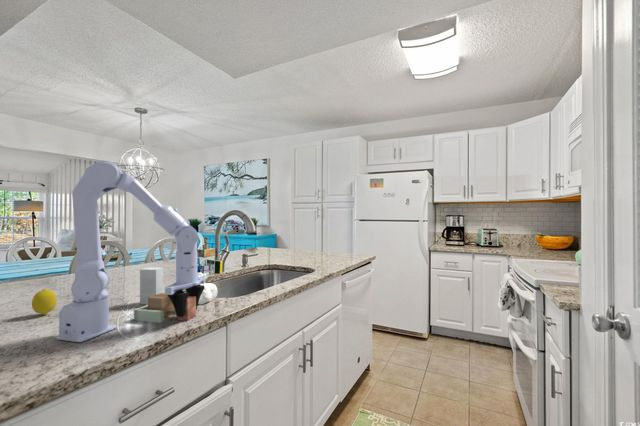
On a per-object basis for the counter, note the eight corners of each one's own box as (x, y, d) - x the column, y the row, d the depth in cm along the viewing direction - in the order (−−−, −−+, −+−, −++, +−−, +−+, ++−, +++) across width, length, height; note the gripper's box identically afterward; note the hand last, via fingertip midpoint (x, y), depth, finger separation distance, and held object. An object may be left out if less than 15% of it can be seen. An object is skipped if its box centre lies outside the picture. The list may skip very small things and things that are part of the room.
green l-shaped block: (160, 322, 81) (160, 312, 81) (134, 320, 83) (134, 309, 83) (186, 311, 90) (186, 301, 90) (161, 309, 93) (161, 299, 93)
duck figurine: (214, 303, 106) (202, 277, 109) (226, 293, 103) (213, 266, 106) (185, 313, 95) (172, 284, 99) (197, 301, 92) (183, 272, 96)
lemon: (41, 318, 85) (41, 291, 85) (26, 317, 86) (26, 290, 86) (61, 312, 90) (61, 287, 90) (47, 311, 91) (47, 286, 91)
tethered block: (185, 321, 81) (185, 300, 82) (147, 317, 85) (147, 297, 85) (197, 315, 86) (197, 295, 86) (161, 312, 90) (161, 293, 90)
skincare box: (164, 301, 102) (164, 267, 102) (155, 305, 97) (156, 269, 97) (147, 300, 102) (147, 267, 102) (139, 304, 98) (139, 269, 98)
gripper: (180, 271, 77) (180, 323, 76) (213, 263, 91) (213, 306, 90) (158, 270, 78) (158, 321, 78) (194, 262, 92) (194, 305, 92)
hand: (186, 313), depth 84 cm, fingers open, 5 cm apart
